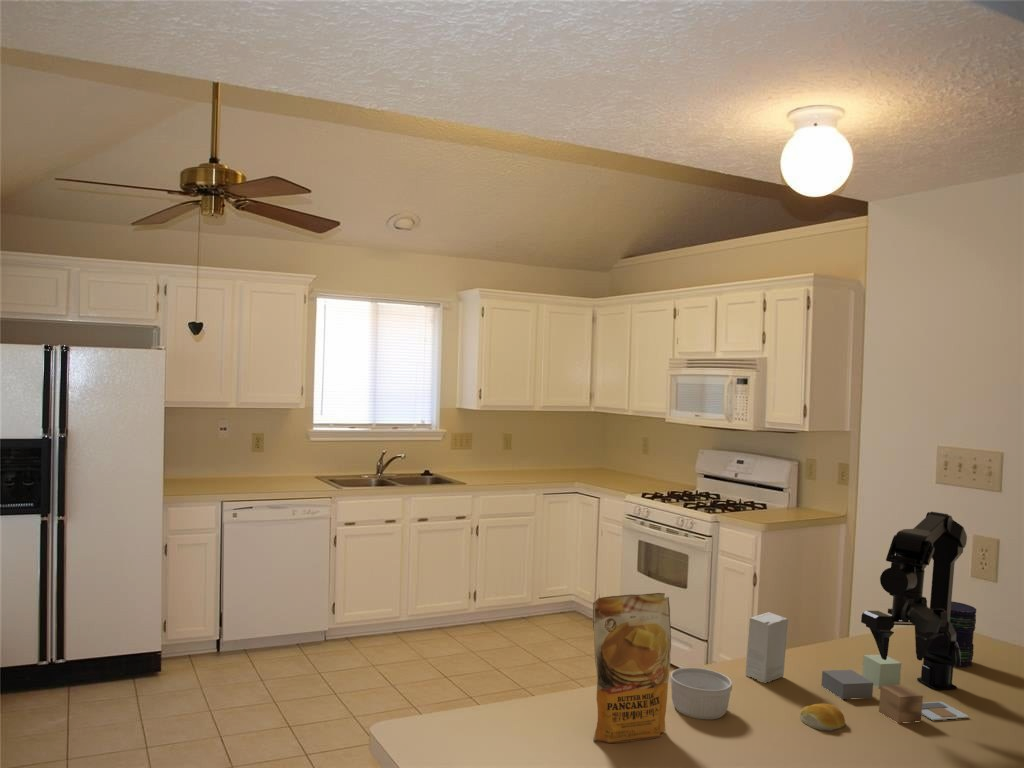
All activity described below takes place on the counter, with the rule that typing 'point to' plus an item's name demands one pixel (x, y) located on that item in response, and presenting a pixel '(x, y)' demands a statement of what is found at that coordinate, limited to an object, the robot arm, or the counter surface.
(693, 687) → the ramekin
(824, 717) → the bread roll
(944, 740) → the counter surface
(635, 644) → the pancake mix bag
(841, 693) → the charcoal block
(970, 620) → the storage jar
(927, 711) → the card
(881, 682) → the sage cube
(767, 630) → the skincare box
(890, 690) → the walnut cube
